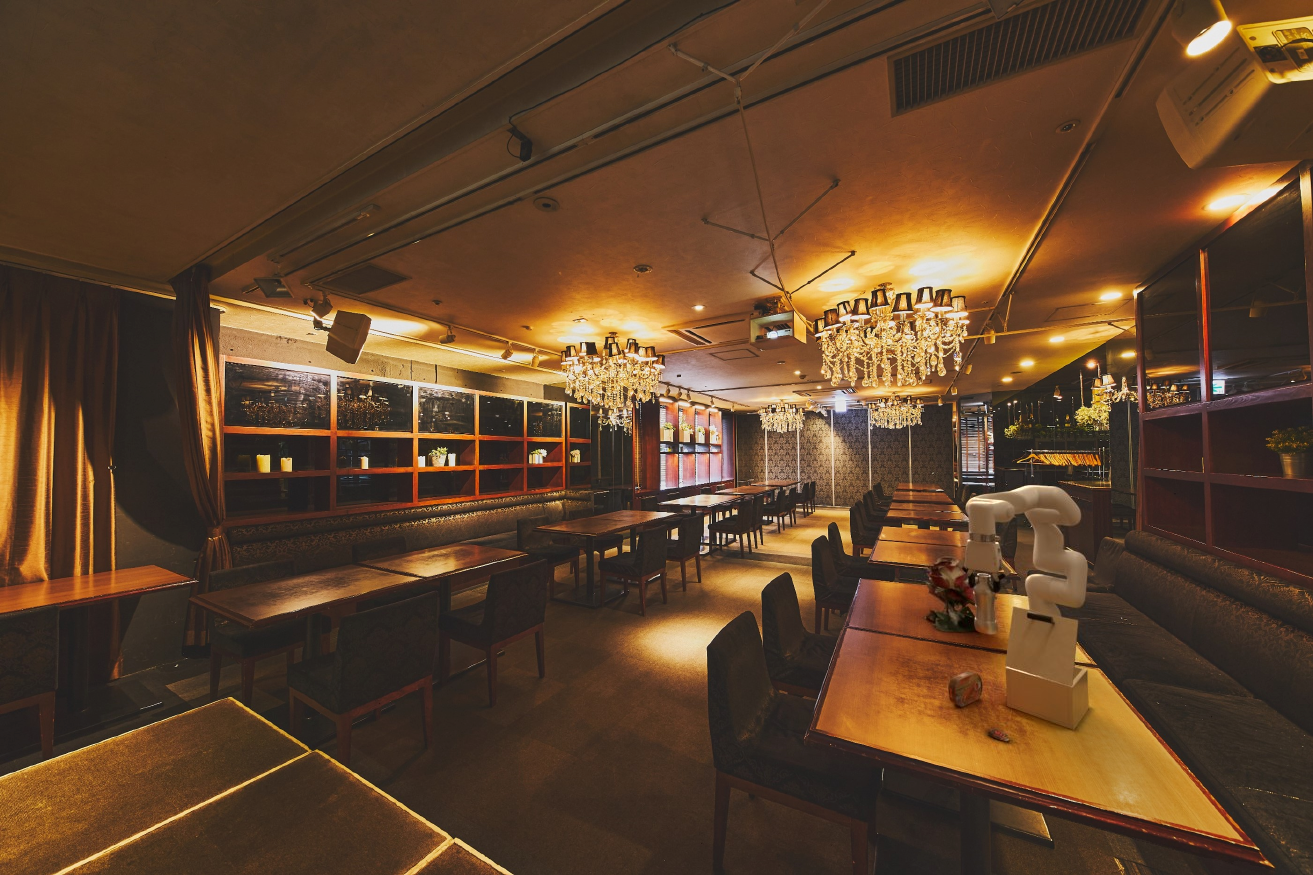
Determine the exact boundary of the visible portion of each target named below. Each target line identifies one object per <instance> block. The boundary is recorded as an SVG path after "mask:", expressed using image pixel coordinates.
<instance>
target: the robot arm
mask: <svg viewBox="0 0 1313 875" xmlns="http://www.w3.org/2000/svg"><path fill="white" fill-rule="evenodd" d="M965 511H966V512H965V513H966V514H967V517H968V537H969V538H968V539H967V540H966V546H965V555H964V558H963V559H961V560H959V562H958V565H959V566H960V567H961V568H962V570H963V571H964V572H965V573H966V574H965V576H967V579H968V584H969V585H970V588H973V587H974V585H975V577H976V575H975V574H974V573H975V571H979V572H985V573H991V576H992V578H993V581H992V586H993V592H994V593H996V594H997V593H999V592H1000V591H1001V589H1002V586H1001V585H1002V584H1001V580H1003V579H1005V578H1006V577H1007V576H1009V575H1010V574H1012V570H1011V569H1010V568H1009V567H1008V566H1006V565H1005V563H1004V562H1003V555H1002V550H1001V545H1000V543H999V542H997V541H1001V536H998V535H997V533H996V523H1007V522H1010V521H1012V520H1013V518H1014V517H1015V515H1021V514H1024V515H1025V517H1026V518H1027V520H1028V521H1029V523H1030V525H1031V527H1032V529H1033V531H1034V532H1033V533H1034V544H1033V551H1032V552H1033V554H1032V564H1033V566H1034V568H1035V569H1036V570H1039V571H1042V572H1045V573H1050V574H1056V575H1060V576H1065V577H1066V578H1061V577H1056V576H1052V575H1045V574H1041V573H1033V574H1030V575H1029V576H1027V577H1026V578H1025V581H1024V586H1025V591H1026V595H1027V600H1028V610H1032V611H1037V612H1041V613H1046V614H1051V615H1055V616H1060V617H1062V612H1061V610H1060V608H1059V607H1058V606H1057V605H1059V606H1060V605H1061V606H1065V607H1070V608H1081V607H1082V606H1083V605H1084V603H1085V601H1086V595H1087V582H1088V572H1089V571H1088V570H1089V566H1088V562H1087V559H1086V556H1085V555H1084V554H1083V553H1081V552H1078V551H1075V550H1070V549H1069V550H1068V549H1064V535H1063V533H1062V531H1061V530H1060V529H1059V527H1058V526H1067V527H1073V526H1076V525H1078V524H1079V523H1080V521H1081V520H1082V512H1081V509H1080V507H1079V506H1078V504H1077V503H1076V502H1075V501H1074V500H1073V498H1072V497H1071V495H1069V494H1068V493H1067V492H1066V491H1065V490H1063V489H1062V488H1060V487H1058V486H1048V485H1024V486H1021V487H1019V488H1016V489H1012V490H1010V491H1001V492H995V493H986V494H980V495H977V496H974V497H972V498H970V499H969V500H968V501H967V502H966V505H965ZM1057 525H1058V526H1057ZM1001 571H1003V572H1002V573H1000V572H1001Z"/></svg>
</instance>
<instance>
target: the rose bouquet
mask: <svg viewBox="0 0 1313 875" xmlns="http://www.w3.org/2000/svg"><path fill="white" fill-rule="evenodd" d="M958 562H960V560H959V559H957V557H955V556H949V555H948V556H947V555H945V556H943V557H938V558H937V560H936V562H934V561H933V562H932V563H931V564H932V565H933V566H929V567H928V568H927V569H926V572H929V573H925V575H926V576H927V577H928V579H927V580H923V582H925V584H926V586H927V589H928V592H927V593H928V594H929V595H931V596H932V597H935V598H937V599H938V601H940V602H942V603H943V604H944V606H943V611H942V612H941V611H937V610H935V609H933V610H932V609H929V614H928V615H925V619H926V620H927V619H928V620H930V621H932V622H934V623H931V625H932V626H933V627H934V628H935V629H936V630H937V631H941V632H947V633H948V632H949V633H969V632H978V631H977V630H976V628H975V625H974V621H975V614H974V612H973V611H972V610H971V608H970V607H969V605H972V606H974V607H975V608H976V606H975V605H976V604H975V598H974V593H973V588H970V585H969V584H968V578H966V573H965V572H964V571H963V570H962V568H961V567H960V566H959V565H958ZM965 579H966V580H965ZM977 582H978V580H977V576H975V584H976V583H977ZM996 600H998V597H997V596H996V597H995V601H996ZM960 606H961V608H960ZM959 608H960V609H959Z"/></svg>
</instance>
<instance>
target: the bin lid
mask: <svg viewBox="0 0 1313 875" xmlns="http://www.w3.org/2000/svg"><path fill="white" fill-rule="evenodd" d="M1010 619H1011V620H1010V628H1009V635H1008V640H1007V641H1008V643H1007V650H1006V657H1005V667H1010V668H1013V669H1017V670H1020V671H1023V672H1027V673H1030V674H1033V675H1036V676H1040V677H1043V678H1046V679H1050V680H1053V681H1056V682H1060V683H1063V684H1066V685H1070V686H1073V676H1074V666H1076V665H1075V664H1076V663H1075V662H1076V652H1077V651H1076V650H1077V641H1078V631H1079V620H1078V619H1074V618H1069V617H1064V616H1061V617H1060V616H1055V615H1051V614H1046V613H1041V612H1037V611H1032V610H1029V609H1027V608H1023V607H1017V606H1012V614H1011V618H1010Z"/></svg>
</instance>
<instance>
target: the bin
mask: <svg viewBox="0 0 1313 875" xmlns="http://www.w3.org/2000/svg"><path fill="white" fill-rule="evenodd" d="M1088 674H1089V673H1088V669H1087V668H1083V667H1081V666H1076V665H1074V676H1073V686H1070V685H1066V684H1063V683H1060V682H1056V681H1053V680H1050V679H1046V678H1043V677H1040V676H1036V675H1033V674H1030V673H1027V672H1023V671H1020V670H1017V669H1013V668H1010V667H1007V666H1005V687H1006V688H1005V690H1006V707H1008V708H1011V709H1013V710H1017V711H1020V712H1023V713H1025V714H1027V715H1031V716H1034V717H1036V718H1040V719H1041V720H1045V721H1047V722H1050V723H1053V724H1055V725H1058V726H1060V727H1064V728H1067V729H1070V730H1072V731H1074V730H1075V729H1076V727H1077V726H1078V725H1079V723H1080V722H1081V721H1082V719H1083V718H1084V716H1085V714H1086V713H1087V712H1088V711H1089V709H1090V703H1089V701H1090V700H1089V699H1090V698H1089V676H1088Z"/></svg>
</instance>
